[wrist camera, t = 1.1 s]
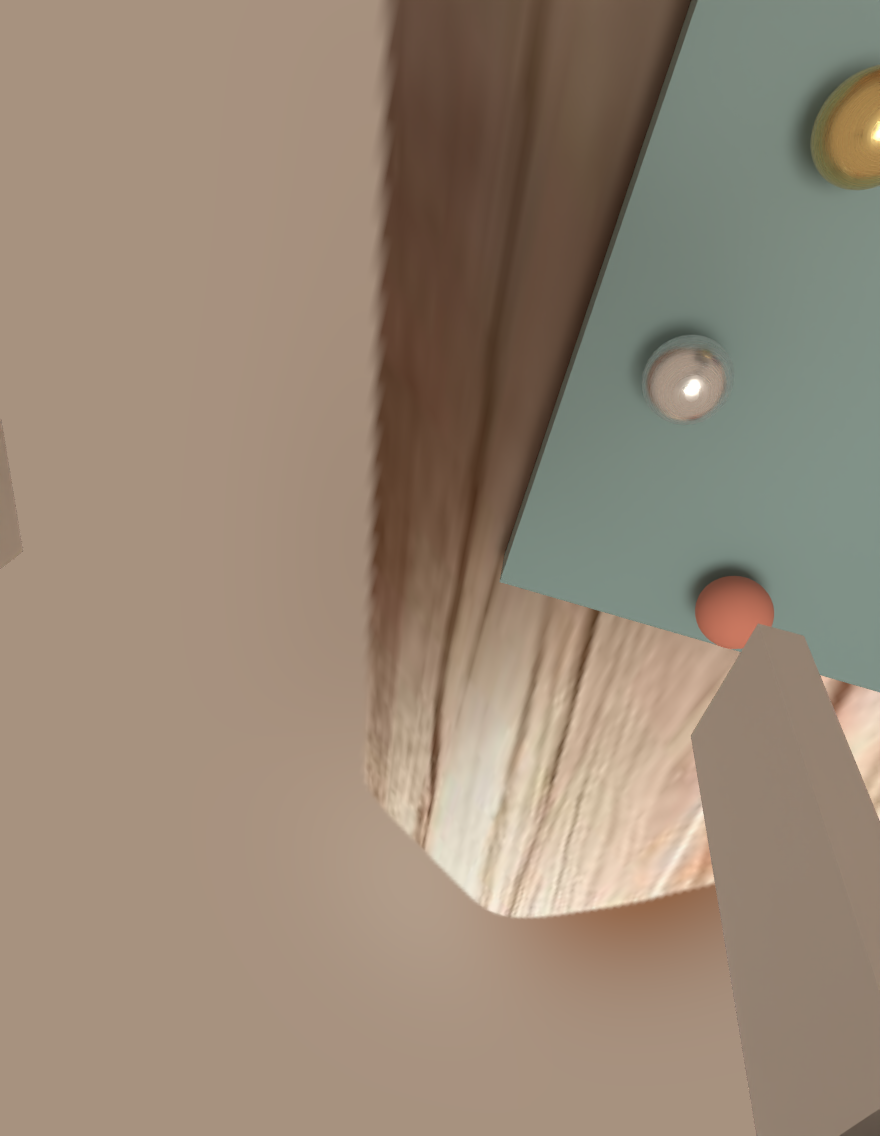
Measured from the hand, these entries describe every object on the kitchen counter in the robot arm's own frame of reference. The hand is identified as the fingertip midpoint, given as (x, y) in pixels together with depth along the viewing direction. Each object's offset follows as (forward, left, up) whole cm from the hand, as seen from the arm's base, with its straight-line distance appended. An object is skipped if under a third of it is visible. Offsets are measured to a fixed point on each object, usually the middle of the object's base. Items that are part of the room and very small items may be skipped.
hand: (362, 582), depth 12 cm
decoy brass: (-9, +10, -17) cm, 21 cm away
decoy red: (+9, +14, -17) cm, 23 cm away
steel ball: (0, +8, -17) cm, 19 cm away
